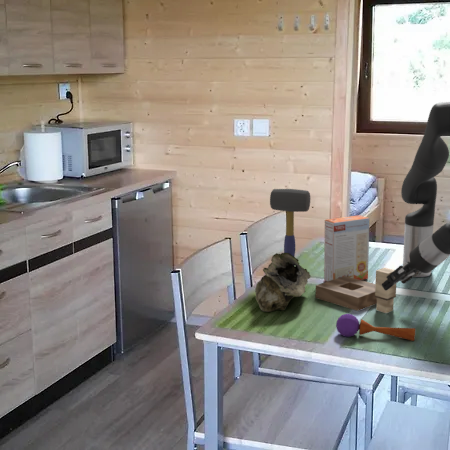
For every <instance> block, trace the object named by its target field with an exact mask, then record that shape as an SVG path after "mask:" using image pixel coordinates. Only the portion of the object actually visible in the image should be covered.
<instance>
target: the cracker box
mask: <svg viewBox="0 0 450 450" xmlns="http://www.w3.org/2000/svg"><path fill="white" fill-rule="evenodd" d="M323 243H324V255H323V257H324V259H323V260H324V262H323V265H324V266H323V268H324V269H323V272H324V273H323V276H324V277H323V278H324V279H323V281H324V282H328V281H331V280H334V279H337V278H340V277H343V276H347V277H350V278H354V279H358V280H362V281H364V280H365V281H366V280H368V279H369V255H370V254H369V251H370V250H369V248H370V217H367V216H363V215H361V214H360V215H359V214H358V215H351V216H344V217H336V218H330V219H329V218H327V219H325V220H324V242H323Z"/></svg>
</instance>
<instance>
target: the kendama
mask: <svg viewBox="0 0 450 450" xmlns="http://www.w3.org/2000/svg"><path fill="white" fill-rule="evenodd" d="M335 324H336V325H335V326H336V330H337V332H338V333H339V334H340V335H342V336H343V337H348V338H349V337H354V336H355V335H356V334H357V333H358V332H359V336H362V335H364V334H368V333H372V332H375V333H380V334H384V335H388V336H392V337H396V338H399V339H404V340H408V341H412V342H415V338H416V337H415V336H416V328H414V327H413V328H412V327H411V328H410V327H384V326H381V327H380V326H374V325H372V324H370V323H368V322H367V321H365V320H363V319H361V318H360V321H359V319H358V318H357V316H355V315H353V314H351V313H345V314H341V315H340V316H339V317H338V318H337V320H336V323H335Z"/></svg>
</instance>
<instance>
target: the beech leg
mask: <svg viewBox="0 0 450 450" xmlns="http://www.w3.org/2000/svg"><path fill="white" fill-rule="evenodd" d="M394 270H395V269H393V268H388V267H382V268H379V269H376V270H375V282H374V284H375V297H376V298H377V304H376V311H377V312H381V313H384V314H388V313H390V312H392V311H394V304H395V303H394V302H395V301H394V300H395V299H396V298H397V283H396V284H394V285H393V286H392V287H391V288H390V289H388V290H384V288H383V287H382V283H384V282H385V281H386V280H387V278H386V277H387V276H388V275H390V274H391V273H392V272H393V271H394ZM394 278H395V277H394Z"/></svg>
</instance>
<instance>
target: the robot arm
mask: <svg viewBox="0 0 450 450" xmlns="http://www.w3.org/2000/svg"><path fill="white" fill-rule="evenodd" d="M448 136H449V137H450V101H444V102H443V101H442V102H441V101H440V102H438V103H435V104H433V105H432V107H431V109H430V111H429V115H428V118H427V122H426V127H425V130H424V133H423V137H422V139H421V142H420V144H419V146H418V148H417V151H416V153H415V156H414V159H413V161H412V162H413V163H412V165H411V168H410V169H409V171H408V173H407V174H406V176H405V177H404V179H403V182H402V186H401V192H400V194H401V198H402V200H403V202H404V203H405V204H409V205H410V204H411V205H422V206H421V207H420V208H418V209H417V210H415V211H413V212H410V213H407V214H406V215H405V218H404V235H403V236H404V237H403V255H402V258H403V260H402V265H399V266H397V267H396V269H393V270H394V271H393V272H392V273H391V274H390V275H388V276H387V277H386V278H387V280H386V281H385V282H384V283H382V287H383V288H384V290H388V289H390V288H391V287H392V286H393V285H394V284H396V285H397V284H398V283H399V282H401V284H403V285H405V284H407V282H409V281H411V279H413V278H425V277H429V276H431V273H432V271H433V270H435V269H436V268H437V267H439V265H441V264H442V263H443V262H445V261H446V260H447V259H448V258H449V257H450V222H446V223H444V224H443V225H442V226H440V227H439V228H438V229H437V230H436V231H435V232H434V224H435V223H434V221H435V213H436V212H435V211H436V202H437V193H438V184H437V183H438V182H437V180H436V178H435V177H436V176H439V174H440V173H442V171H443V170H444V168H445V167H446V165H447V162H448V160H449V157H450V151H449V147H448V145H447V144H446V142H445V141H444V139H443V138H442V137H448ZM394 277H395V278H394Z"/></svg>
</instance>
